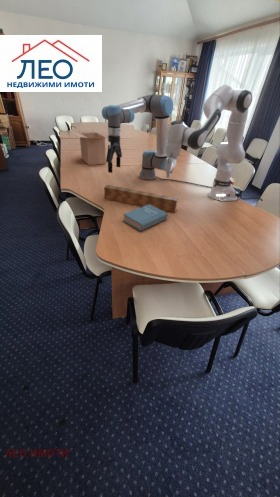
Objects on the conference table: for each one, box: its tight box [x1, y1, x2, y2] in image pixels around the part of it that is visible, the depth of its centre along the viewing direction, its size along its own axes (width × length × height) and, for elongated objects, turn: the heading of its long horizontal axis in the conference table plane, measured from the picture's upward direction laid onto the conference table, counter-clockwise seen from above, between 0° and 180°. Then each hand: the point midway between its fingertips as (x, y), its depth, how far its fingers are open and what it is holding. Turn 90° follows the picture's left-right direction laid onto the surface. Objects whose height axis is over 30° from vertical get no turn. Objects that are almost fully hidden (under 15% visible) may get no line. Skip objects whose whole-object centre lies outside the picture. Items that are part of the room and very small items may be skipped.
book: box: [122, 204, 168, 232], centre depth 138 cm, size 23×16×5 cm
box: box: [70, 129, 109, 166], centre depth 229 cm, size 44×36×27 cm
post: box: [103, 184, 179, 214], centre depth 156 cm, size 52×5×9 cm, turn 72°
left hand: (114, 169), depth 150 cm, fingers open, 13 cm apart
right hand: (169, 175), depth 140 cm, fingers open, 8 cm apart
